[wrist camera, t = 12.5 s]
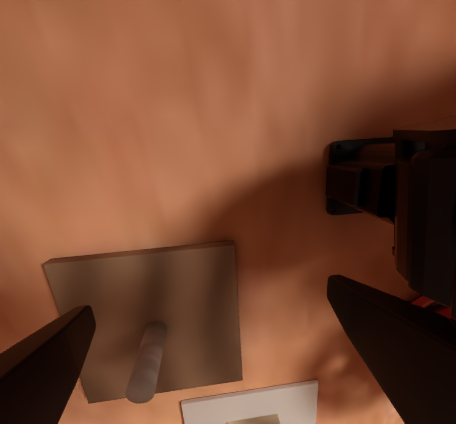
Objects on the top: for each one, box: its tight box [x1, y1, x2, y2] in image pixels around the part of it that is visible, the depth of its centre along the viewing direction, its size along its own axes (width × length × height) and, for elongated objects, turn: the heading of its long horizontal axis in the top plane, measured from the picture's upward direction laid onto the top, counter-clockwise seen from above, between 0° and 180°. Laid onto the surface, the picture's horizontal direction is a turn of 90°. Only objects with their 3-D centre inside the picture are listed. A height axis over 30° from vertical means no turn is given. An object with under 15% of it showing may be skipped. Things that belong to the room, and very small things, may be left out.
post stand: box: [43, 241, 243, 404], centre depth 19 cm, size 16×16×7 cm
